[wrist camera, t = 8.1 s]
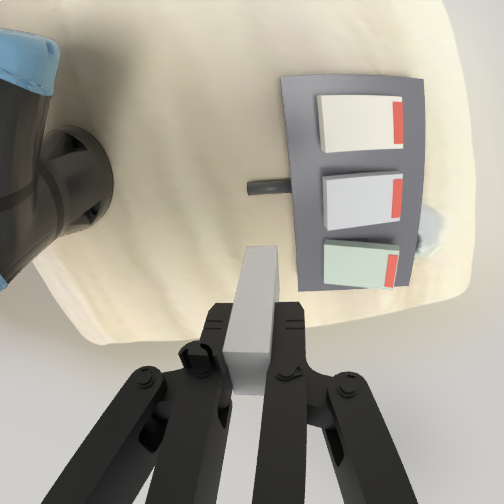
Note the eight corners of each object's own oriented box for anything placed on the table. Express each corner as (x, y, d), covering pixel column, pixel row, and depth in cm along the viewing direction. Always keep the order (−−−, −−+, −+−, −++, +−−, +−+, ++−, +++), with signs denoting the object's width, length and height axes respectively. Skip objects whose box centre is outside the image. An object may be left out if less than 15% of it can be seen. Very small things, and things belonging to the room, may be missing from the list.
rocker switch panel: (260, 273, 40) (256, 296, 36) (234, 84, 28) (224, 83, 24) (400, 267, 36) (410, 289, 32) (409, 79, 24) (426, 79, 20)
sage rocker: (325, 277, 34) (323, 284, 33) (325, 239, 31) (323, 245, 30) (393, 283, 31) (393, 291, 30) (398, 245, 28) (399, 252, 27)
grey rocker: (324, 225, 29) (328, 231, 27) (322, 176, 26) (327, 180, 25) (394, 216, 29) (400, 221, 27) (396, 170, 26) (403, 174, 25)
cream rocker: (321, 150, 25) (326, 153, 24) (316, 95, 22) (321, 95, 21) (396, 145, 25) (404, 148, 24) (395, 96, 23) (403, 97, 21)
